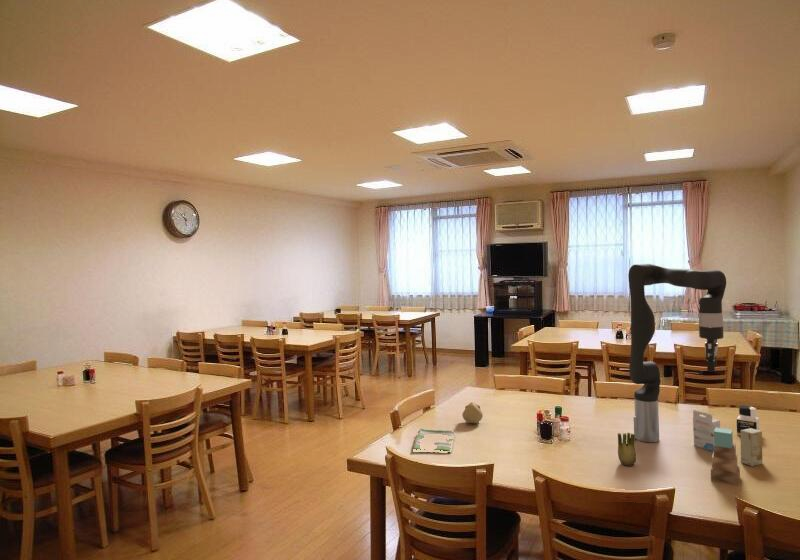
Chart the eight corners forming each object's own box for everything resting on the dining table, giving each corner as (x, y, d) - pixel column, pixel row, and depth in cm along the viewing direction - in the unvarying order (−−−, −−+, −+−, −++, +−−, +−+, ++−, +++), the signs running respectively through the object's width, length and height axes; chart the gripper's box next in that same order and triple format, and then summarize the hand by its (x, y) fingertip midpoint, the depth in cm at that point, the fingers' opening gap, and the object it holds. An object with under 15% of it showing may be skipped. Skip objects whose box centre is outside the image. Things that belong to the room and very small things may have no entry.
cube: (714, 445, 173) (713, 431, 173) (715, 441, 177) (715, 427, 177) (731, 448, 170) (731, 433, 170) (732, 444, 174) (732, 429, 174)
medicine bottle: (736, 434, 216) (736, 407, 216) (739, 430, 221) (739, 403, 221) (756, 438, 211) (756, 410, 211) (759, 433, 216) (758, 406, 216)
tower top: (713, 457, 173) (713, 445, 173) (715, 451, 178) (715, 440, 178) (734, 460, 170) (734, 448, 170) (735, 455, 174) (735, 443, 174)
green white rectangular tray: (455, 436, 230) (454, 428, 230) (452, 455, 207) (452, 446, 207) (418, 435, 232) (417, 428, 232) (411, 454, 210) (411, 445, 209)
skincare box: (752, 466, 183) (751, 433, 183) (740, 462, 187) (739, 430, 187) (763, 463, 185) (762, 430, 185) (751, 459, 189) (750, 427, 189)
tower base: (710, 480, 173) (710, 469, 173) (712, 472, 179) (712, 461, 179) (738, 486, 168) (738, 474, 168) (739, 477, 175) (739, 466, 175)
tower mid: (712, 468, 174) (711, 457, 173) (713, 461, 179) (713, 450, 179) (736, 472, 169) (736, 461, 169) (737, 465, 175) (737, 454, 175)
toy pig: (483, 420, 251) (482, 398, 251) (482, 427, 239) (481, 405, 239) (463, 419, 253) (463, 398, 253) (461, 427, 241) (461, 405, 241)
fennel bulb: (617, 464, 190) (616, 432, 189) (622, 460, 193) (621, 429, 193) (633, 468, 185) (632, 436, 185) (638, 464, 189) (637, 432, 189)
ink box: (721, 449, 200) (720, 413, 200) (713, 452, 198) (712, 414, 198) (701, 443, 208) (700, 407, 208) (693, 445, 206) (692, 409, 206)
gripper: (701, 322, 191) (702, 365, 191) (696, 326, 179) (698, 371, 179) (724, 323, 186) (725, 366, 187) (721, 327, 175) (722, 373, 175)
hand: (712, 369), depth 183 cm, fingers open, 8 cm apart
